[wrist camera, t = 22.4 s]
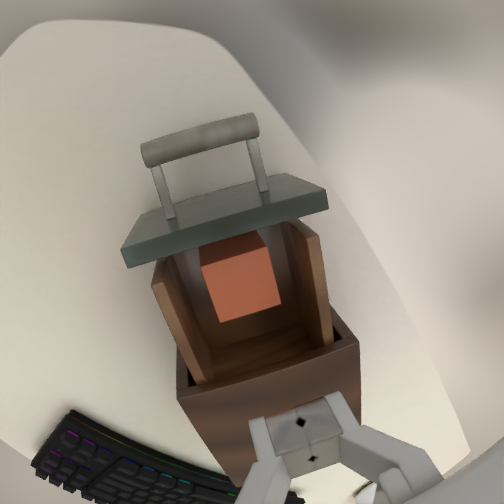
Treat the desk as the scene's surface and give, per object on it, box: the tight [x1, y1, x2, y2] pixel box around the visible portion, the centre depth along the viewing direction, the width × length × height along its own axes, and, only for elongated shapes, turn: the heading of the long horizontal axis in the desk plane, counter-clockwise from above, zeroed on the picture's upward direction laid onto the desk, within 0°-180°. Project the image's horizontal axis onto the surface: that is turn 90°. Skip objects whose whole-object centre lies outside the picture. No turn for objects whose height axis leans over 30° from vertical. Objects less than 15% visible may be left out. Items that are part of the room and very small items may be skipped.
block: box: [198, 230, 281, 323], centre depth 23 cm, size 4×4×4 cm
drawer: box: [120, 113, 334, 385], centre depth 22 cm, size 19×12×8 cm, turn 14°
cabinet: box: [176, 304, 361, 487], centre depth 27 cm, size 15×13×10 cm
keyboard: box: [31, 410, 305, 504], centre depth 36 cm, size 42×16×5 cm, turn 46°
